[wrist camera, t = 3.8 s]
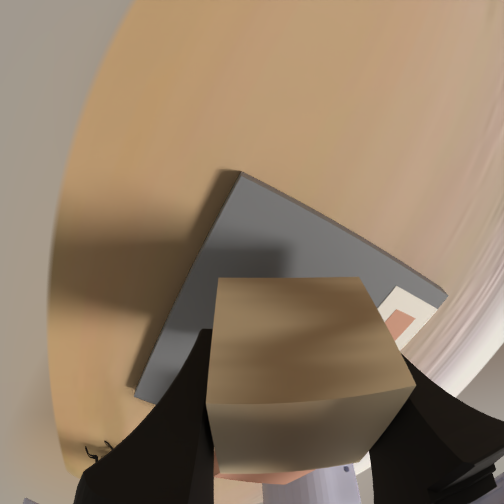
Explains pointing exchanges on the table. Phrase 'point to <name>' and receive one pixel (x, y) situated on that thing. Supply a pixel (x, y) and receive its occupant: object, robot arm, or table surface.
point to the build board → (282, 272)
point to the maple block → (300, 374)
